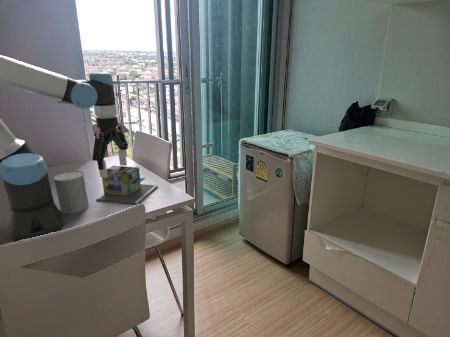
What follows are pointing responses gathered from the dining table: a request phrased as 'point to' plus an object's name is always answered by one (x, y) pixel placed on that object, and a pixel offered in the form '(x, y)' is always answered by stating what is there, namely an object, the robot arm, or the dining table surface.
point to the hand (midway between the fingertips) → (114, 171)
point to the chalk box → (122, 181)
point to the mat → (133, 199)
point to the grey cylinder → (71, 191)
